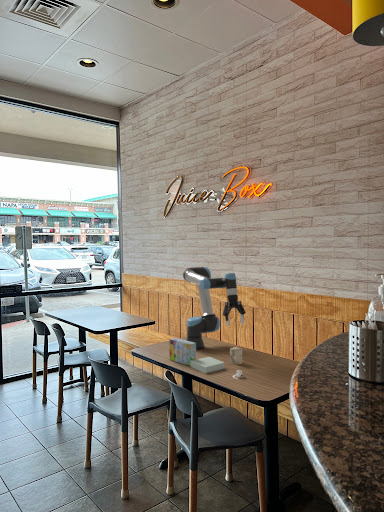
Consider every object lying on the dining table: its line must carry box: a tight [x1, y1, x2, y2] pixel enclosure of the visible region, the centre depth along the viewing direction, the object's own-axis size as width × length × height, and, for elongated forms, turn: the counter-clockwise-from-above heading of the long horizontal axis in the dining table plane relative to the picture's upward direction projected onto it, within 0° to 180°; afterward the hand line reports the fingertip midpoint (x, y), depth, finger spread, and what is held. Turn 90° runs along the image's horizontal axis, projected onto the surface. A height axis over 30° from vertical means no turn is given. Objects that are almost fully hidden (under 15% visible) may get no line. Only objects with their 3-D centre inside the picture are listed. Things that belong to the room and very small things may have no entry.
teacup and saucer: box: [232, 369, 243, 380], centre depth 244 cm, size 9×8×4 cm
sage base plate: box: [190, 356, 225, 374], centre depth 261 cm, size 16×16×4 cm
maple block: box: [229, 346, 243, 366], centre depth 271 cm, size 6×6×10 cm
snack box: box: [169, 337, 197, 367], centre depth 272 cm, size 21×6×15 cm, turn 47°
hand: (235, 324), depth 279 cm, fingers open, 13 cm apart
